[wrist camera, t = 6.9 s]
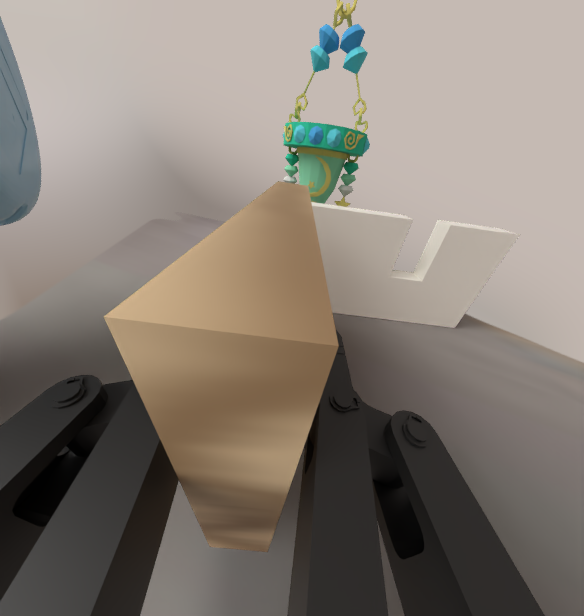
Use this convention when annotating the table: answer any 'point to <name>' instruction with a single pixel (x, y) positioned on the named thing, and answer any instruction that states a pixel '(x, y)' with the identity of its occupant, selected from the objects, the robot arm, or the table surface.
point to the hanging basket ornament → (322, 137)
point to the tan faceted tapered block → (235, 362)
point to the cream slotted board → (399, 284)
